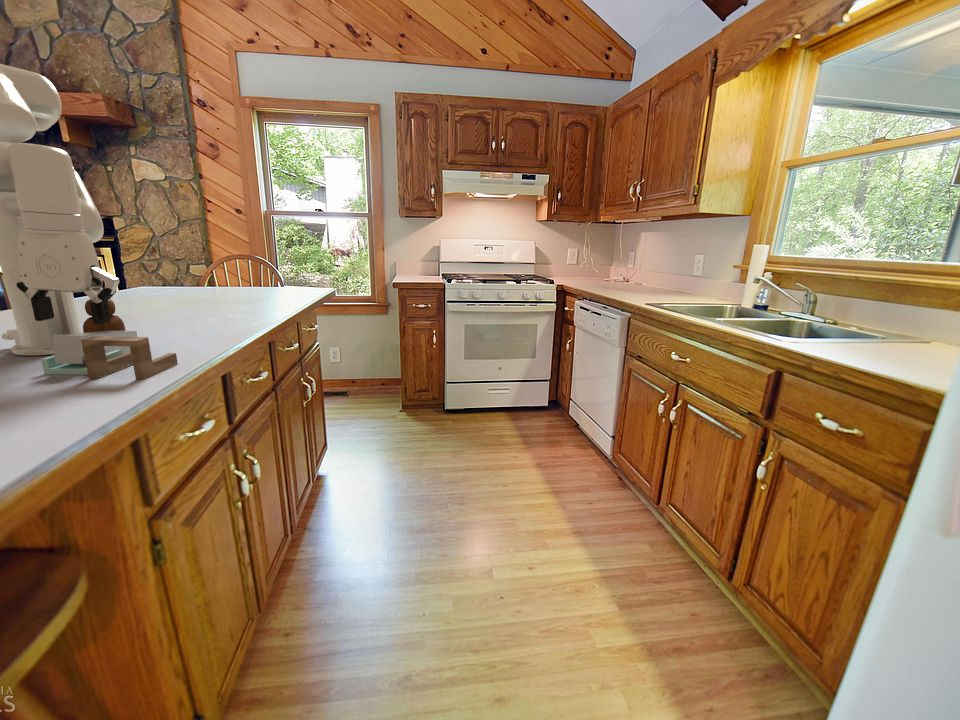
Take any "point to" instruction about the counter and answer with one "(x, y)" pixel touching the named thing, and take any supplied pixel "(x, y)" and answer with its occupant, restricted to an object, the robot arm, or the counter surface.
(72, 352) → the bar
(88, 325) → the wooden figurine
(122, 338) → the brown wooden stepped stand
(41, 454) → the counter surface
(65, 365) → the cradle
